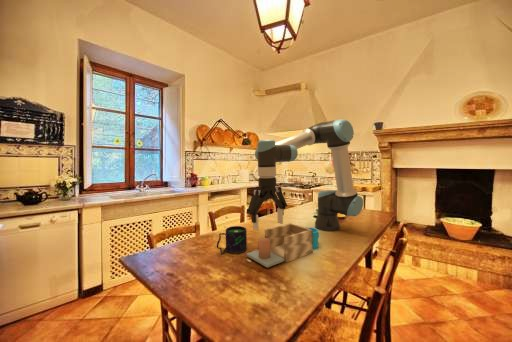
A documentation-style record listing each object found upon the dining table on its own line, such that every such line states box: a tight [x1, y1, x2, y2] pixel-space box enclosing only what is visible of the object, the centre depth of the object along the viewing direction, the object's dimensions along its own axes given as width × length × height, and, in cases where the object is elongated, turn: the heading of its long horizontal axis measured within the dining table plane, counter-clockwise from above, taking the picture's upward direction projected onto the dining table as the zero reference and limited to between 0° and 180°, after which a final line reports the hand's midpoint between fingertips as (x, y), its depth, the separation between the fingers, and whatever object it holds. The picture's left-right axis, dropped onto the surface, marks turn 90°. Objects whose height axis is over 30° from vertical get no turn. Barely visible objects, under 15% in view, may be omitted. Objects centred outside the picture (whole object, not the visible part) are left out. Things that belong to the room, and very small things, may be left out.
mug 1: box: [216, 225, 248, 255], centre depth 108 cm, size 15×10×10 cm, turn 117°
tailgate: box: [246, 249, 285, 268], centre depth 98 cm, size 1×14×10 cm
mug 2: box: [307, 227, 320, 250], centre depth 114 cm, size 12×8×8 cm
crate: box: [264, 223, 314, 263], centre depth 106 cm, size 17×14×10 cm
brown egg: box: [257, 237, 270, 259], centre depth 97 cm, size 5×5×7 cm
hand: (268, 226), depth 98 cm, fingers open, 13 cm apart
